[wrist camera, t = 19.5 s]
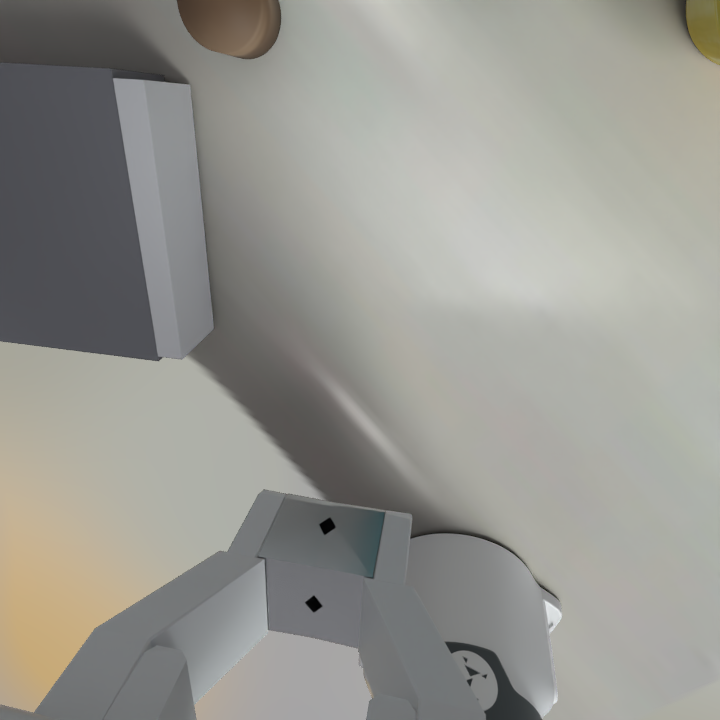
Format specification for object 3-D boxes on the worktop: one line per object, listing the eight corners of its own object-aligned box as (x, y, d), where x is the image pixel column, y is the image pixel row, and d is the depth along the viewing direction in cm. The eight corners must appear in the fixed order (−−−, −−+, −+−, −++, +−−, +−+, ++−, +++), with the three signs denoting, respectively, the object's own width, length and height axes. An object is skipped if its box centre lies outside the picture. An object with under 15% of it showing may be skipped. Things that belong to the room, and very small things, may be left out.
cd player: (163, 75, 27) (110, 68, 23) (194, 329, 35) (158, 361, 31) (-113, 59, 29) (-210, 50, 25) (-28, 303, 37) (-92, 329, 33)
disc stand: (281, 60, 26) (260, 54, 23) (212, 57, 27) (182, 50, 24) (279, -32, 24) (256, -53, 21) (205, -34, 25) (171, -55, 22)
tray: (190, 84, 27) (144, 79, 23) (214, 328, 34) (181, 359, 30) (-92, 68, 29) (-183, 60, 25) (-14, 302, 36) (-74, 327, 32)
